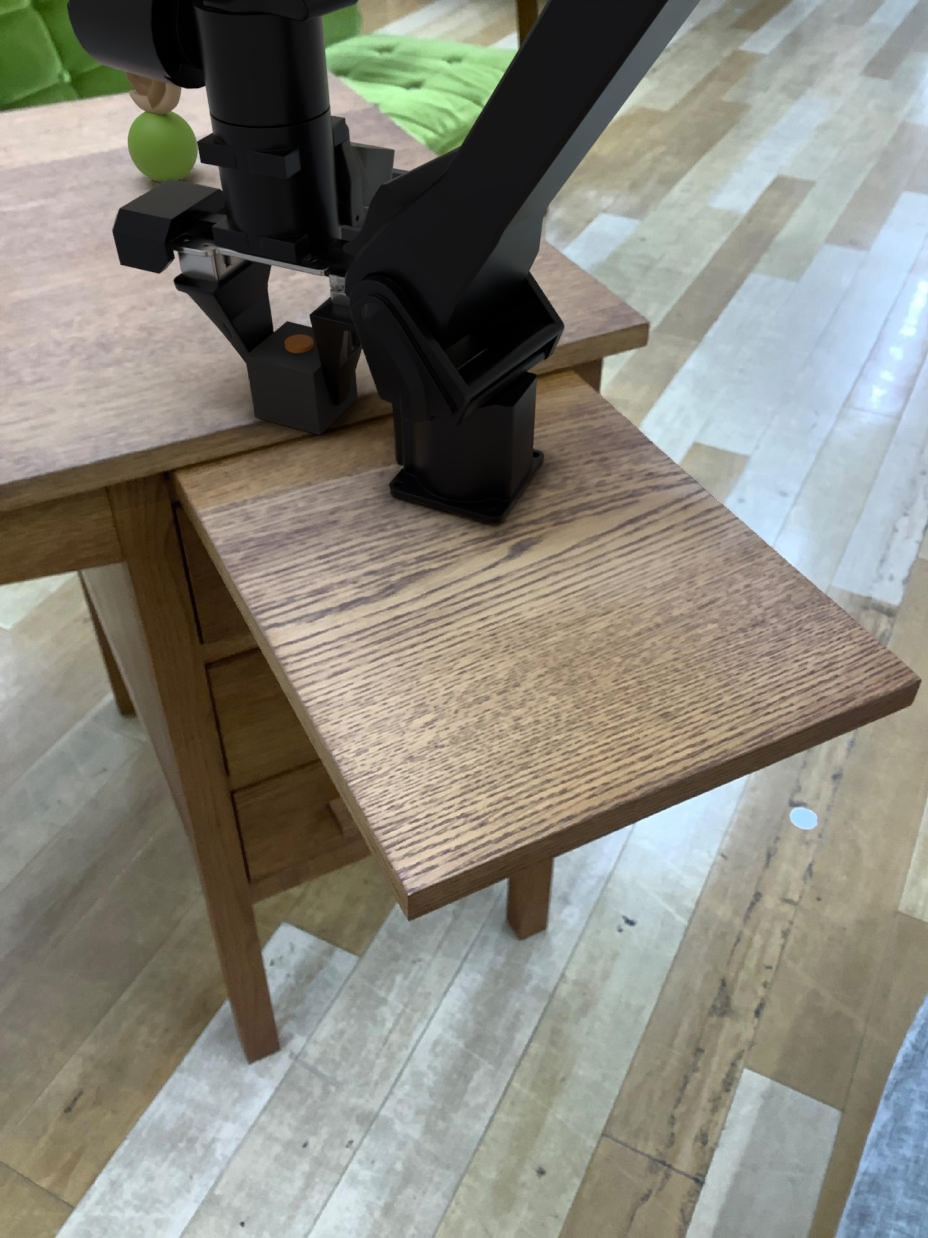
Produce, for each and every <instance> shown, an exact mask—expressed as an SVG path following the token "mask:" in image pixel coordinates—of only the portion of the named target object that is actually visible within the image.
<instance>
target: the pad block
mask: <svg viewBox="0 0 928 1238" xmlns="http://www.w3.org/2000/svg"><path fill="white" fill-rule="evenodd" d="M245 359H246V363H245V366H246V369H247V370H246V371H247V376H248V383H249V388H250V390H249V391H250V393H251V394H250V395H251V401H252V407H253V412H254V413H253V414H254V417H255V418H256V419H259V420H263V421H266V422H270V423H274V424H277V425H282V426H285V427H288V428H292V429H296V430H300V431H303V432H307V433H311V434H314V435H318V436H322V434H324V432H325V431H326V430H328V428H330V426H331V425H332V424H333V423H334V422H335V421H336V420H337V419H338V418H339V417H340V416H341V415H342V414H343V413H344V412H345V411H346V410H347V409H348V408H349V407H350V406H351V405H352V404H353V403H354V402H355V401H356V400H357V399H358V398H359V396H358V394H359V393H358V384H357V373H356V371H357V370H356V371H355V374H354V378H353V381H352V384H351V388H350V391H349V394H348V397H347V398H346V400H345V401H344V402H343V403H342V404H341V405H339V406H338V405H335V404H333V402H332V400H331V397H330V395H329V392H328V390H327V387H326V384H325V379H324V375H323V371H322V367H321V363H320V358H319V354H318V350H317V346H316V342H315V338H314V334H313V330H312V326H309V325H304V324H301V323H296V322H294V321H288V320H287V321H285V322H284V323H283V324H281V326H279V327H278V328H277V329H275V330H274V332H273V333H272V334H271V335H270V336H269V337H267V338H266V339H265V340H264V341H263V342H261V343H260V344H259V345H258V346H257V347H255V348H254V349H253V350H252V351H251V352H249V353H248V354H247V355H246V356H245Z"/></svg>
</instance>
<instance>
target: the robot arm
mask: <svg viewBox="0 0 928 1238" xmlns="http://www.w3.org/2000/svg"><path fill="white" fill-rule="evenodd" d="M700 2H701V0H547V1H546V3H545V5H544V6H543V8H542V10H541V11H540V13H539V15H538V16H537V18H536V20H535V21H534V23H533V24H532V26H531V27H530V30H529V31H528V33H527V34H526V36H525V38H524V39H523V41H522V43H521V44H520V46H519V48H518V50H517V51H516V52H515V54H514V56H513V58H512V59H511V61H510V63H509V65H508V66H507V68H506V69H505V71H504V73H503V75H502V76H501V78H500V80H499V81H498V83H497V85H496V86H495V88H494V89H493V91H492V92H491V95H490V96H489V98H488V100H487V101H486V102H485V105H484V106H483V108H482V110H481V111H480V113H479V115H478V116H477V118H476V120H475V121H474V123H473V124H472V126H471V128H470V129H469V131H468V133H467V134H466V136H465V138H464V139H463V141H462V143H461V145H459V146H457V147H455V148H453V149H450V150H448V151H447V152H445V153H443V154H441V155H438V156H437V157H435V158H432V159H431V160H429V161H427V162H424V163H423V164H420V165H418V166H416V167H415V168H413V169H410V170H407V171H408V172H406V173H404V174H402V175H400V176H398V177H396V178H394V179H392V174H393V168H394V163H395V152H396V150H395V149H393V148H389V147H385V146H379V145H371V144H365V143H359V142H354V141H351V134H350V128H349V125H348V124H347V122H346V117H343V116H337V115H332V111H331V110H332V109H331V100H330V98H331V97H330V88H329V87H330V86H329V75H328V64H327V55H326V54H327V53H326V41H325V29H324V19H323V18H324V17H323V16H326V15H328V14H332V13H334V12H338V11H341V10H345V9H347V8H350V7H352V6H355V5H357V4H358V3H359V0H68V1H67V3H66V9H67V14H68V19H69V23H70V26H71V28H72V30H73V34H74V36H75V38H76V39H77V41H78V42H79V44H80V46H81V48H82V49H83V50H84V51H85V53H87V54H88V55H89V57H90V58H91V59H92V60H94V61H96V62H97V63H99V64H100V65H102V66H105V67H108V68H111V69H115V70H119V71H122V72H124V71H125V72H129V73H132V74H136V75H139V76H143V77H146V78H150V79H154V80H157V81H161V82H164V83H168V84H171V85H175V86H178V87H182V88H181V89H186V90H197V89H202V88H204V87H205V92H206V98H207V104H208V111H209V118H210V125H211V130H212V132H211V133H209V134H207V135H206V136H204V137H202V138H200V139H199V140H197V146H198V155H199V156H198V157H199V160H200V164H203V165H208V166H215V167H217V168H218V173H219V178H220V185H221V186H220V187H221V188H219V187H213V186H208V185H203V184H197V183H192V182H188V181H183V180H173V179H168V180H167V181H165V182H160V183H159V184H158V185H156V186H154V187H153V188H151V189H149V190H148V191H146V192H145V193H143V194H141V195H140V196H138V197H136V198H135V199H132V200H131V201H129V202H128V203H126V204H124V205H122V206H120V207H119V208H118V210H117V213H116V215H115V217H114V221H113V225H112V227H111V232H112V237H113V241H114V245H115V249H116V253H117V257H118V262H119V264H120V266H124V267H127V268H131V269H136V270H140V271H144V272H148V273H154V274H157V275H160V274H161V273H164V272H165V271H167V269H168V268H169V267H170V265H171V264H172V263H173V261H174V260H175V259H176V256H175V252H176V253H177V257H178V262H179V268H180V273H179V274H177V276H175V277H174V278H173V279H172V280H173V285H174V287H175V289H176V290H177V291H178V292H180V293H185V294H187V295H188V296H189V297H190V299H191V300H192V301H193V302H194V303H195V304H196V305H197V306H198V308H199V309H200V310H201V311H202V312H203V313H204V314H205V315H206V316H207V317H208V319H209V320H210V321H211V322H212V324H213V325H215V327H216V328H217V329H218V330H219V331H220V332H221V334H222V335H223V336H224V338H225V339H226V341H228V342H229V344H230V346H232V347H233V349H234V350H235V351H236V353H237V354H238V355H239V356H240V358H241V359H242V361H243V362H244V363H245V364H246V359H245V356H246V355H247V354H248V353H249V352H251V351H252V350H253V349H254V348H255V347H257V346H258V345H259V344H260V343H261V342H263V341H264V340H265V339H266V338H267V337H269V336H270V335H271V334H272V333H273V332H275V330H274V329H275V328H274V322H273V315H272V308H271V301H270V295H269V294H270V293H269V281H270V275H271V272H272V271H271V270H272V266H273V267H278V268H282V269H287V270H291V271H296V272H300V273H304V274H305V273H306V274H310V275H313V276H314V275H315V276H318V277H326V278H328V282H329V288H330V289H329V293H330V296H329V297H328V298H327V299H326V300H324V302H322V303H320V305H318V307H316V308H315V309H314V310H313V311H312V312H311V313H309V321H310V325H311V327H312V330H313V334H314V338H315V342H316V346H317V350H318V354H319V358H320V363H321V367H322V371H323V375H324V379H325V384H326V387H327V390H328V392H329V395H330V397H331V400H332V402H333V404H335V405H338V406H339V405H341V404H342V403H343V402H344V401H345V400H346V398H347V397H348V394H349V391H350V388H351V384H352V381H353V378H354V374H355V371H357V368H358V365H359V360H360V359H361V355H362V352H363V355H364V358H365V361H366V364H367V367H368V369H369V372H370V375H371V378H372V381H373V384H374V387H375V390H376V392H377V395H378V397H379V399H381V400H382V401H384V402H387V403H389V404H392V405H391V406H392V423H393V441H394V458H395V462H396V464H397V466H400V467H402V468H400V470H399V471H398V473H396V475H394V477H393V478H392V479H391V481H390V482H389V484H388V491H389V494H390V495H391V496H393V497H396V498H400V499H402V500H403V499H404V500H407V501H411V502H413V503H417V504H421V505H425V506H428V507H431V508H435V509H438V510H441V511H446V512H448V513H452V514H456V515H459V516H463V517H466V518H468V519H473V520H477V521H480V522H484V523H487V524H490V525H498V524H499V525H500V524H501V523H502V522H503V521H504V520H505V519H506V518H507V516H508V514H509V513H510V512H511V510H512V508H513V507H514V506H515V504H516V503H517V502H518V500H519V498H520V497H521V496H522V494H523V493H524V491H525V490H526V488H527V487H528V486H529V484H530V482H531V481H532V480H533V478H534V477H535V475H536V474H537V472H538V471H539V469H541V467H542V466H543V464H544V461H545V454H544V452H543V451H542V450H539V449H536V448H534V442H535V440H534V439H535V425H536V424H535V423H536V405H537V404H536V403H537V387H538V386H537V384H538V375H537V373H535V372H530V370H531V369H532V368H534V367H535V366H536V365H538V364H539V363H540V362H541V361H546V360H548V359H549V358H550V357H551V356H553V355H554V353H555V351H556V348H557V346H558V344H559V343H560V340H561V338H562V335H563V333H564V331H565V323H564V321H563V319H562V318H561V317H560V315H559V313H558V312H557V310H556V309H555V307H554V306H553V304H552V302H551V301H550V299H549V298H548V296H547V295H546V294H545V292H544V290H543V289H542V288H541V286H540V285H539V283H538V281H537V280H536V278H535V277H534V275H533V274H532V272H531V269H532V267H533V265H534V263H535V260H536V258H537V256H538V255H539V252H540V247H541V238H542V229H543V221H544V216H545V214H546V211H547V210H548V208H549V206H550V204H551V203H552V202H553V200H554V199H555V198H556V196H557V195H558V193H559V192H560V191H561V190H562V188H563V187H564V185H565V184H566V183H567V181H568V180H569V179H570V178H571V176H572V174H573V173H574V172H575V170H577V168H578V167H579V165H580V164H581V162H582V161H583V160H584V158H585V157H586V156H587V154H588V153H590V150H591V149H592V147H594V146H595V144H596V142H597V141H598V139H599V138H600V137H601V135H602V134H603V133H604V131H605V130H606V129H607V127H608V126H609V125H610V123H611V122H612V121H613V120H614V118H615V117H616V116H617V114H618V113H619V112H620V110H621V109H622V107H623V106H624V104H625V103H626V102H627V100H628V99H629V97H630V96H631V95H632V94H633V92H634V91H635V89H636V88H637V87H638V86H639V84H640V83H641V81H642V80H643V79H644V78H645V76H646V75H647V74H648V72H649V71H650V69H651V68H652V67H653V65H654V64H655V63H656V61H657V60H658V59H659V57H660V56H661V55H662V53H663V52H664V50H665V49H666V48H667V46H668V45H669V44H670V42H671V41H672V40H673V39H674V37H675V36H676V35H677V33H678V31H680V29H681V28H682V26H683V25H684V24H685V22H686V21H687V20H688V18H689V17H690V16H691V14H692V13H693V11H694V10H695V9H696V7H697V6H698V5H699V3H700ZM125 72H124V73H125ZM363 207H369V208H368V211H367V215H366V218H365V221H364V224H363V226H362V229H361V230H360V232H359V233H358V234H357V236H356V237H355V238H354V239H353V240H351V241H348V240H343V239H341V229H342V228H343V227H344V226H349V227H354V226H356V225H357V224H358V223H359V222H361V221H362V220H363V219H364V210H363Z"/></svg>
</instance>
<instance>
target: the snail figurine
mask: <svg viewBox="0 0 928 1238" xmlns="http://www.w3.org/2000/svg"><path fill="white" fill-rule="evenodd" d="M123 72H124V75H125V77H126V79H127V81H128V83H129V84H130V86H131V87H132V89H131V90H129V92H128V93H129V96H130V99H132V101H133V102H134V104H135V105H136V106H137V107H138V108H139V109H140V110H142V111H144V112H142V113H140V114H139V115H138V116H137V117H136V118H135V119H134V120H133V122H132V123H131V125H130V127H129V130H128V134H127V149H128V154H129V156H130V159H131V161H132V162H133V164H134V166H135V167H136V168H137V169H138V171H139V172H140V173H141V174H143V175H144V176H145V177H147V178H148V179H150V180H152V181H155V182H158V183H163V182H165V181H167V180H168V179H173V180H178V181H182V179H184V178H186V177H187V176H188V175H189V174H190V173H191V172H192V170H193V169H194V167H195V165H196V163H197V159H198V155H199V150H198V145H197V141H198V139H197V137H196V135H195V132H194V130H193V128H192V127H191V125H190V123H188V121H187V120H186V119H184V118H183V117H182V116H181V115H180V114H178V113H177V112H175V111H173V110H175V109H176V108H177V106H178V104H179V103H180V100H181V95H182V89H183V88H182V87H178V86H175V85H171V84H168V83H164V82H161V81H157V80H154V79H150V78H146V77H143V76H139V75H136V74H132V73H129V72H125V71H123Z"/></svg>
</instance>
